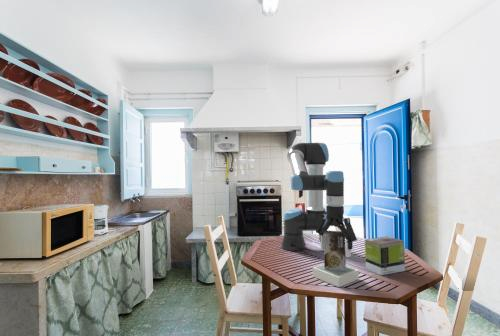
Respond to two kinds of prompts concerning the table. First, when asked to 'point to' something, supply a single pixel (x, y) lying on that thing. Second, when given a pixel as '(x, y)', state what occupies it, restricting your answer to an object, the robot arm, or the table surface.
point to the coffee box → (334, 251)
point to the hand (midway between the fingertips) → (335, 252)
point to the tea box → (385, 255)
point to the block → (336, 275)
